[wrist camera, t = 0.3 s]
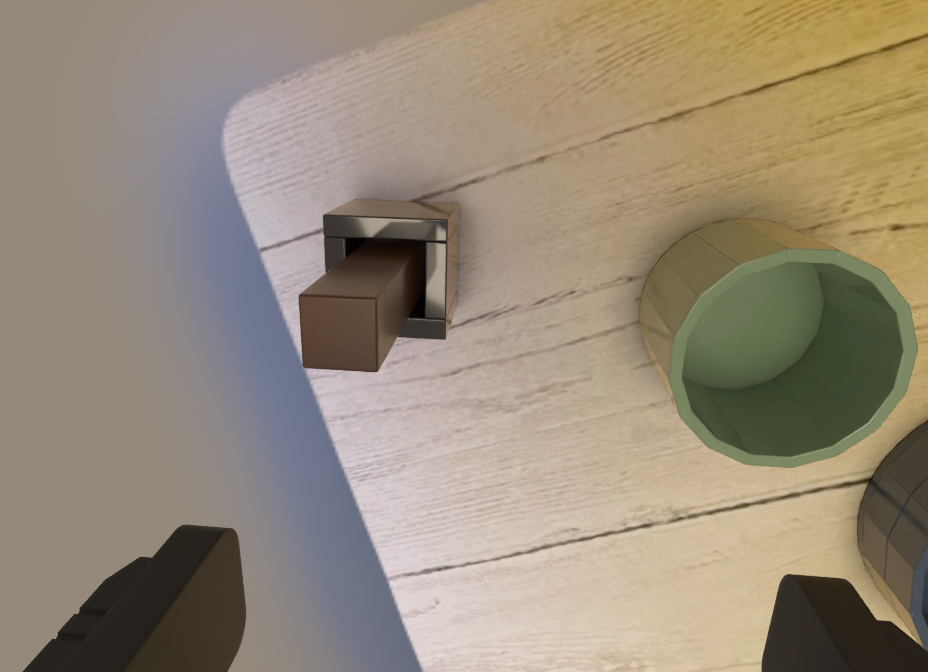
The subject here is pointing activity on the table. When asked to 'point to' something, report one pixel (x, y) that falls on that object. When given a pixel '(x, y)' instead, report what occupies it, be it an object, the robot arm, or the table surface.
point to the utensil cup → (775, 342)
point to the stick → (361, 305)
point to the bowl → (900, 531)
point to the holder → (405, 223)
